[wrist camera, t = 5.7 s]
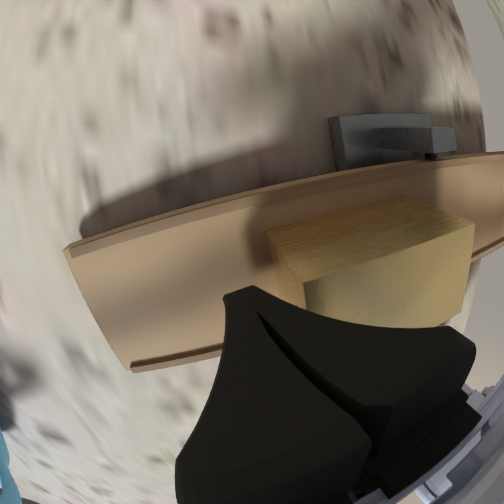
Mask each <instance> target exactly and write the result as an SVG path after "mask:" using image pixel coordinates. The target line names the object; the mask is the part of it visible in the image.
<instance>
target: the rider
mask: <svg viewBox="0 0 504 504" xmlns="http://www.w3.org/2000/svg"><path fill="white" fill-rule="evenodd" d="M474 230H475V223H473V222H471V221H469V220H466V219H464V218H462V217H459V216H457V215H455V214H452V213H450V212H447V211H445V210H442V209H439V208H437V207H434V206H432V205H429V204H426V203H424V202H421V201H418V200H415V199H412V198H410V197H407V196H401V197H397V198H393V199H388V200H384V201H380V202H376V203H372V204H367V205H363V206H359V207H355V208H351V209H347V210H343V211H339V212H334V213H330V214H326V215H322V216H318V217H314V218H310V219H306V220H302V221H298V222H295V223H291V224H287V225H283V226H279V227H275V228H271V229H267V230H265V234H266V239H267V243H268V248H269V253H270V258H271V263H272V268H273V273H274V278H275V283H276V288H277V293H278V298H280V299H282V300H284V301H286V302H288V303H290V304H293V305H295V306H298V307H300V308H303V309H305V310H308V311H311V312H314V313H317V314H320V315H323V316H326V317H330V318H334V319H338V320H342V321H346V322H352V323H357V324H364V325H371V326H379V327H391V328H426V327H436V326H438V325H440V324H441V323H443V322H445V321H447V320H448V319H450V318H452V317H453V316H455V315H457V314H458V313H460V312H461V309H462V304H463V300H464V295H465V291H466V286H467V281H468V275H469V269H470V263H471V256H472V248H473V240H474Z"/></svg>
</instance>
